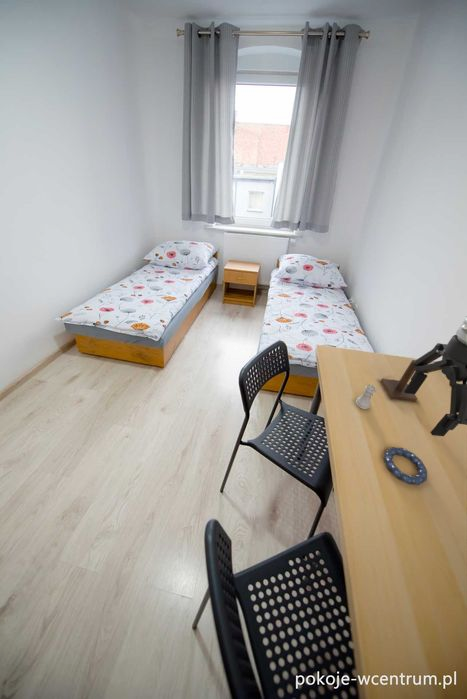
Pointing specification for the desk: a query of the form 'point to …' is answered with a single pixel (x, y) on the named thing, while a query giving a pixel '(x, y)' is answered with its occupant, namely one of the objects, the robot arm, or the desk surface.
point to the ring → (400, 475)
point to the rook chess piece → (365, 397)
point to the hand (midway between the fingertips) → (422, 412)
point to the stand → (400, 385)
